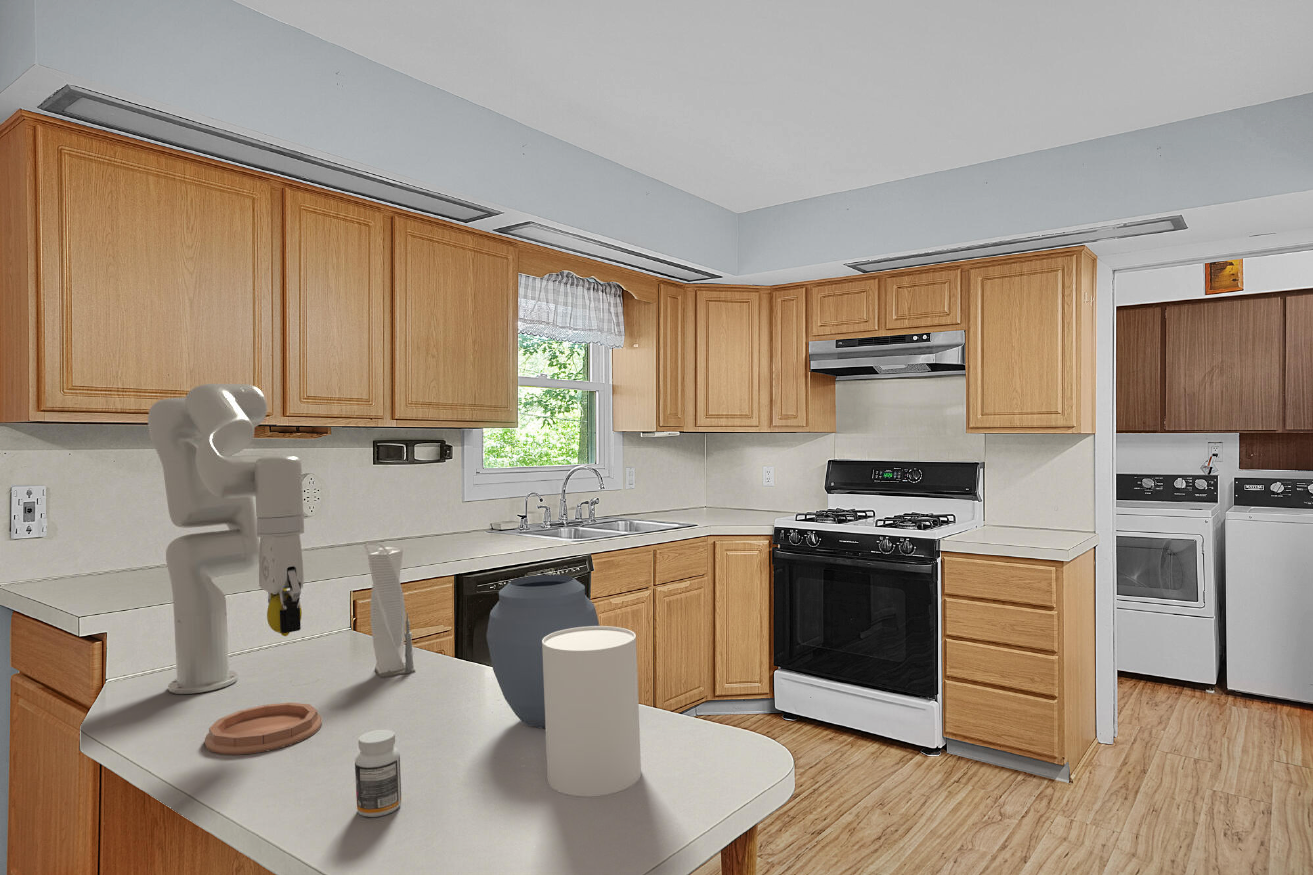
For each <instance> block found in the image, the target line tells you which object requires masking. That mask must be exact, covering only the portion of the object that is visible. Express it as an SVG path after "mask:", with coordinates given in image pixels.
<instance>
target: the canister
mask: <svg viewBox="0 0 1313 875" xmlns="http://www.w3.org/2000/svg"><path fill="white" fill-rule="evenodd" d="M542 650H543V676H544V701H545V726H546V728H545V745H546V768H547V769H546V770H547V771H546V772H547V773H546V775H547V783H548V784H549V786H550V787H551V789H554V790H555V791H556V790H557V791H556V792H559V793H560V794H564V795H569V796H575V797H598V796H601V797H602V796H607V795H612V794H615V793H618V792H622V791H624V790H626V789H629V788H631V787H632V786H633V785H635V784H636V783H637V782H638V781H639V780H640V778H641V776H642V763H641V762H642V759H641V758H642V757H641V734H640V733H641V731H640V710H639V709H640V707H639V685H638V684H639V682H638V681H639V680H638V679H639V678H638V656H637V635H636V633H635V632H634V631H633V630H630V629H627V628H624V627H619V626H610V625H609V626H608V625H600V626H588V627H577V628H570V629H565V630H561V631H557V632H554V633H551V634H549V635H547V636H546V637H544V638H543V640H542Z"/></svg>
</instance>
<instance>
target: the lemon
mask: <svg viewBox="0 0 1313 875" xmlns="http://www.w3.org/2000/svg"><path fill="white" fill-rule="evenodd" d="M287 596H289V595H285V598H286V599H287ZM268 605H269V606H268V607H267V611H266V619H267V623H268V625H269V627H270V628H271V630H273V632H275V633H279V634H281V636H283V637H288V636H289V635H290V633H291V632H288V633H281V632H280V610H282V607H281V601H280V594H278V595H276V596H275V597H274V598H273V599H272V600H271V601H270V603H268ZM302 614H303V613H302V606H301V604H300V622H301V621H302Z"/></svg>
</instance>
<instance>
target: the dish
mask: <svg viewBox="0 0 1313 875" xmlns="http://www.w3.org/2000/svg"><path fill="white" fill-rule="evenodd" d="M322 720H323V719H322V716H321V715H320V714H319V713H318V709H316V708H315V707H314V706H312V705H311V704H310V703H308V704H307V703H300V702H299V703H298V702H281V703H270V704H262V705H259V706H254V707H250V708H245V709H240V710H238V711H235V712H233V713H230V714H228V715H225V716H224V717H221V718H219V719H217V720H216V721H215V722H214V723H213V724H211V726H210V727H209V728H208V733H207V734H206V735H205V737H204V745H205V746H204V747H205V749H206V750H207V751H208V750H209V752H210V753H213V752H214V753H213V754H218V755H226V756H228V755H230V756H240V755H250V754H251V755H252V754H259V753H258V752H260V753H265V752H264V751H266V752H268V751H267V750H271V751H274V750H273V749H275V750H278V749H277V748H279V749H282V748H281V747H283V746H286V747H288V745H289V746H291V745H290V744H292V745H295V744H297V743H296V742H298V743H299V741H300V742H302V741H305V740H307V739H308V737H309V738H310V737H312V736H313V734H314V735H315V734H316V733H318V731H320V729H321V728H322V724H323V723H322ZM306 738H307V739H306ZM304 739H305V740H304ZM301 740H302V741H301ZM294 743H295V744H294ZM283 748H284V747H283Z"/></svg>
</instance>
